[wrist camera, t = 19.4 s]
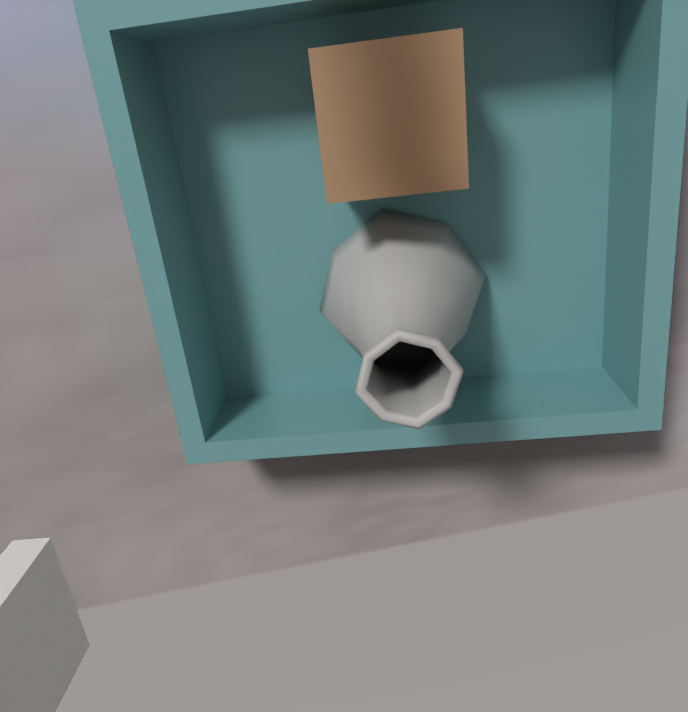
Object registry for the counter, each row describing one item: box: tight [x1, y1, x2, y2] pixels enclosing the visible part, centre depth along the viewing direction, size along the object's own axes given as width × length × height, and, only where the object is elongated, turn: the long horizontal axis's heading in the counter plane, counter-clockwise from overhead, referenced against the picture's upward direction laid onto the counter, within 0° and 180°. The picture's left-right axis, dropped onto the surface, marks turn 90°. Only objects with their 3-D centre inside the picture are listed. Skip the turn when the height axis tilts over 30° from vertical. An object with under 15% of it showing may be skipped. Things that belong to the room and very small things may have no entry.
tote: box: [73, 0, 688, 464], centre depth 25 cm, size 20×18×5 cm
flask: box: [319, 209, 486, 429], centre depth 24 cm, size 7×7×10 cm
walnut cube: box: [308, 28, 469, 204], centre depth 23 cm, size 5×5×5 cm
